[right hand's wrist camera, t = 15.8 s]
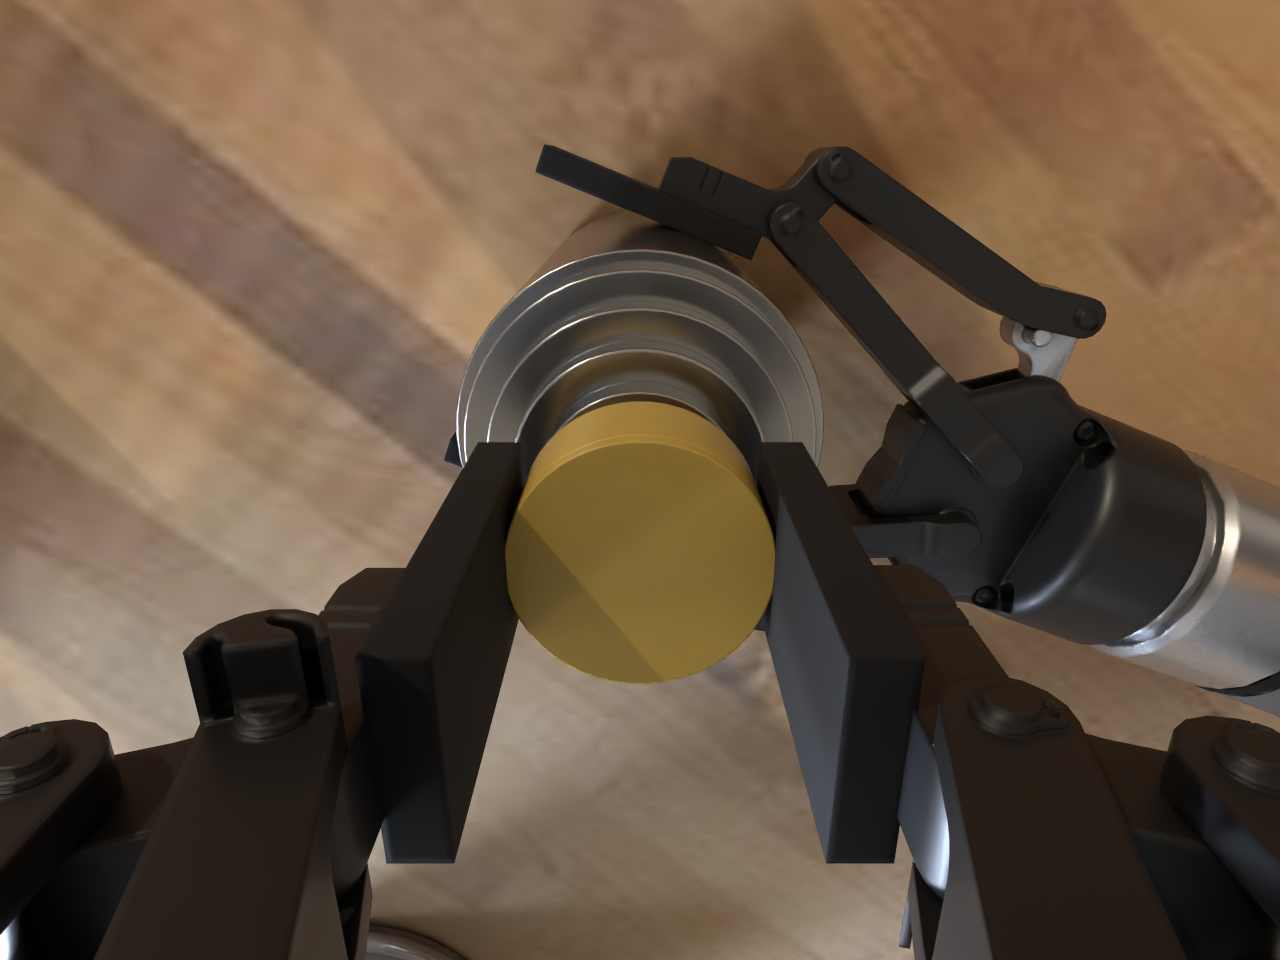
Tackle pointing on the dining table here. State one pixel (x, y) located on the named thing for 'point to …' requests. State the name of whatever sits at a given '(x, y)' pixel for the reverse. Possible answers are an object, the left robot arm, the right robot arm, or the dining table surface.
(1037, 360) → the left robot arm
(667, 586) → the cap
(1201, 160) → the dining table surface
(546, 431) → the bottle
